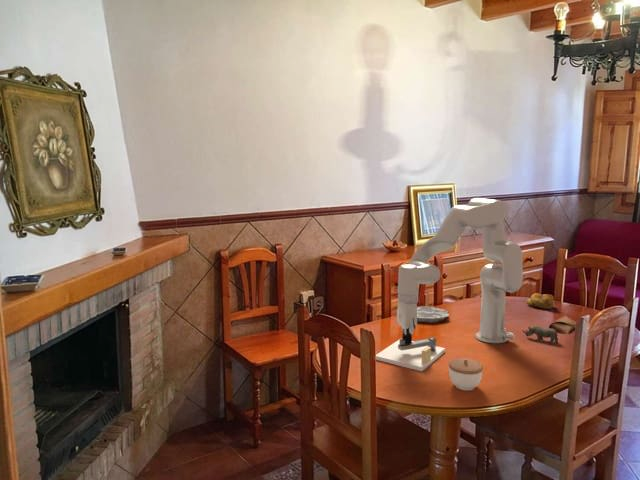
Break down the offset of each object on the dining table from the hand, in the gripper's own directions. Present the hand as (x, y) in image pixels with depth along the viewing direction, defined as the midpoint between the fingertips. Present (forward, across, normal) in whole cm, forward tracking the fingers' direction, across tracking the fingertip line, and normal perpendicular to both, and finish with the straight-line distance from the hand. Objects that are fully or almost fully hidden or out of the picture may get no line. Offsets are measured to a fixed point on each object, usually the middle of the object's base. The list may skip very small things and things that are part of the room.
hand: (406, 343), depth 192 cm
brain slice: (+5, -42, +27) cm, 50 cm away
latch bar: (+3, +2, +4) cm, 5 cm away
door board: (+5, 0, +1) cm, 5 cm away
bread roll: (+5, -48, +88) cm, 100 cm away
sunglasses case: (+5, -17, +80) cm, 82 cm away
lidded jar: (+5, +29, +10) cm, 31 cm away
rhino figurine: (+5, -5, +60) cm, 60 cm away
